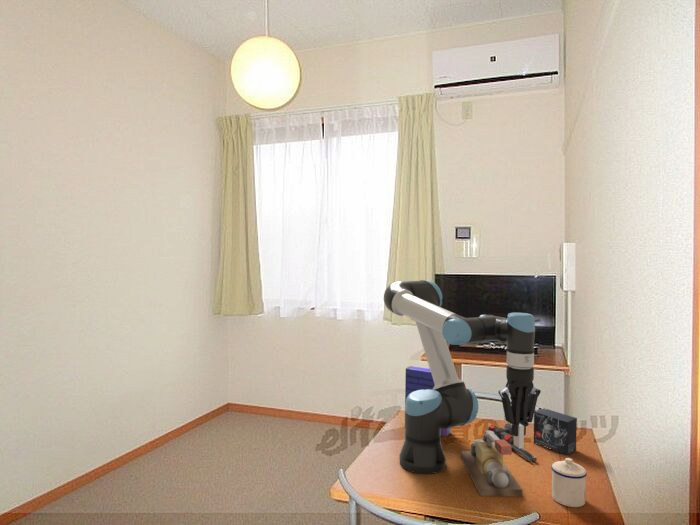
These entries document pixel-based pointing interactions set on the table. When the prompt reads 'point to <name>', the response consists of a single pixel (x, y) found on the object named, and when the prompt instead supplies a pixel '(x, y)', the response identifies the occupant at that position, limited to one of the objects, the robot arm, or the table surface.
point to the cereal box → (420, 385)
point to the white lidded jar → (568, 483)
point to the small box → (555, 431)
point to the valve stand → (489, 470)
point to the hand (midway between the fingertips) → (518, 446)
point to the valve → (509, 439)
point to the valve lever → (499, 443)
